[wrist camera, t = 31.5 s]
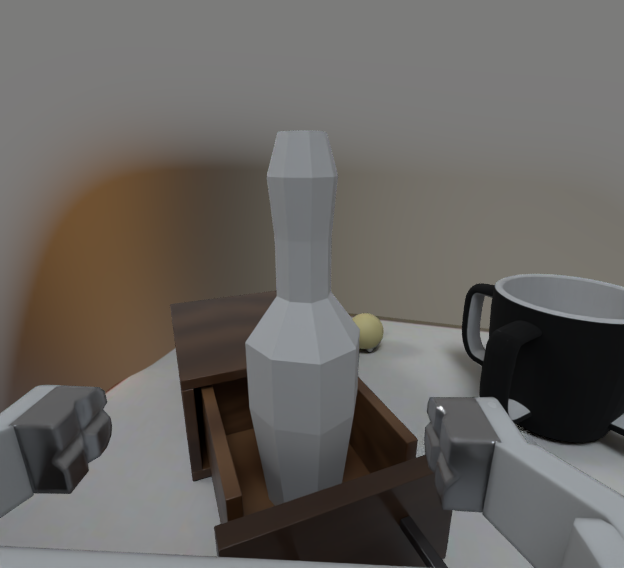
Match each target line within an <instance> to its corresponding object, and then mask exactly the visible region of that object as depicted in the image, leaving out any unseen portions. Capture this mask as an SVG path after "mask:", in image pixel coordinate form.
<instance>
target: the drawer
mask: <svg viewBox="0 0 624 568" xmlns="http://www.w3.org/2000/svg"><path fill="white" fill-rule="evenodd" d="M199 389H200V398H201V407H202V416H203V425H204V434H205V443H206V448H207V453H208V459H209V464H210V469H211V474H212V480H213V485H214V490H215V495H216V500H217V506H218V511H219V516H220V521H221V524H220V525H217V526H215V527H214V531H215V540H216V549H217V557H233V558H254V559H273V560H292V561H311V562H330V563H349V564H368V565H387V566H407V567H429V568H448V567H447V566H446V564H445V563H444V562H443V560H442V559H444V558H445V557H446V550H447V543H448V537H449V530H450V523H451V516H452V510H442V507H441V504H440V501H439V498H438V495H437V492H436V488H435V485H434V481H435V473H434V472H433V471H431V470H430V469H429V466H428V463H427V459H426V455H423V456H420V457H417V458H416V451H417V441H418V440H417V438H416V437H415V436H414V435H413V434H412V433H411V432H410V431H409V430H408V428H407V427H406V426H405V425H404V424H403V423H402V422H401V421H400V420H399V419H398V418H397V417H396V416H395V415H394V414H393V413H392V412H391V411H390V410H389V409H388V408H387V407H386V406H385V404H384V403H383V402H382V401H381V400H380V399H379V398H378V397H377V396H376V395H375V394H374V393H373V392H372V391H371V390H370V389H369V388H368V387H367V386H366V385H365V384H364V383H363V381H362V380H361V379H360V378H359V377H358V388H357V396H356V403H355V410H354V416H353V422H352V428H351V434H350V439H349V445H348V451H347V457H346V462H345V468H344V474H343V480H342V483H341V484H338V485H335V486H332V487H329V488H326V489H323V490H320V491H317V492H314V493H311V494H308V495H305V496H302V497H299V498H297V499H294V500H291V501H288V502H285V503H282V504H279V505H276V506H275V505H274V504H273V503H272V502H271V501H270V500H269V496H268V491H267V487H266V482H265V477H264V473H263V468H262V463H261V459H260V454H259V450H258V445H257V440H256V436H255V431H254V426H253V422H252V417H251V413H250V408H249V394H248V378H247V377H246V378H241V379H236V380H232V381H227V382H222V383H217V384H212V385H208V386H203V387H199Z"/></svg>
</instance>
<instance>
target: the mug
mask: <svg viewBox="0 0 624 568" xmlns="http://www.w3.org/2000/svg"><path fill="white" fill-rule="evenodd" d="M485 296H488V297H491V298H492V304H491V315H490V328H489V340H488V342H487V344H486V350H485V349H484V347H483V345H482V342H481V338H480V320H481V312H482V306H483V301H484V297H485ZM462 338H463V343H464V347H465V350H466V352H467V354H468V355H469V357H470V358H471V359H472V360H473V361H475V362H477V363H478V364H480V365H481V366H482V373H481V381H480V397H494V398H496V399H497V400H498V401H499V403H500V404H501V405H502V407H503V408H504V410H505V411H506V413H507V414H508V415H509V417H510V418H511V420H512V421H513V422H514V424H519V425H521V426H522V427H524V428H526V429H528V430H530V431H532V432H534V433H537V434H539V435H542V436H545V437H549V438H552V439H555V440H561V441H568V442H591V441H594V440H598V439H599V438H601V437H603V436H605V435H606V434H607V433H608V432H609V431H610V430H612V431H614V432H616V433H619V434H621V435H623V436H624V287H621V286H618V285H614V284H610V283H606V282H601V281H597V280H591V279H585V278H579V277H572V276H563V275H551V274H523V275H514V276H509V277H505V278H503V279H501V280H499V281H497V282H496V284H495V285H489V284H476V285H474V286H472V288H470V290H469V291H468V293H467V295H466V299H465V305H464V313H463V322H462Z"/></svg>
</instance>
